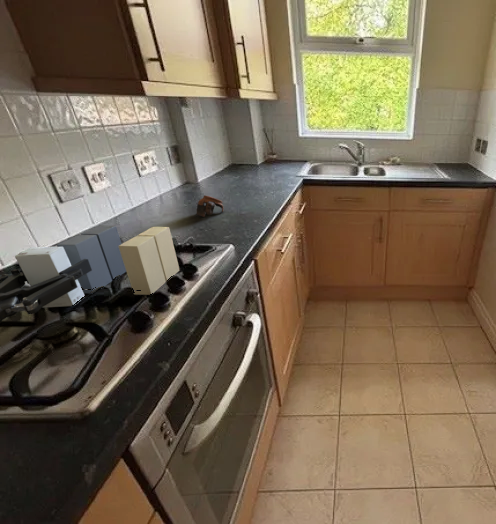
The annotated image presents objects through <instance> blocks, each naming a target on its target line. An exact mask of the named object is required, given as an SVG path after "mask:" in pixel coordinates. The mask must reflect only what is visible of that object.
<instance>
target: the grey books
mask: <svg viewBox="0 0 496 524" xmlns="http://www.w3.org/2000/svg"><path fill="white" fill-rule="evenodd" d="M121 244H123V242H122V241H121V237H120V233H119V231H118V227H117V225H100V224H99V225H98V226H94V227H93V228H90V229H88V230H86V231H84V232H81V233H80V234H76V235H74V236H73V237H70V238H67V239H65V240H63V241H60V242H58V243H56V247H63V248H64V250H65V252H66V255H67V257H68V259H69V261H70V264H71V266H72V265H74V264H76V263H78V262H80V261H82V260H83V259H88V261H89V263H90V266H91V269H92V271H90V272H88V273H87V274H85V275H83V276H82V277H80V278H78V282H79V284H80V286H81V287H82V288H84V289H91V290H82V291H83V293H84V294H91V293H90V292H91V291H93V290H94V289H96V288H98V287H101V286H104V287H106V286H107V285H109V284H110V283H112V282H113V281H114V280H113V279H114V278H115V277H116V276H118V275H120V276H122V275H123V274H125V273H127V271H126V268H125V265H124V262H123V259H122V256H121V253H120V250H119V247H118V246H119V245H121ZM95 287H96V288H95ZM93 288H94V289H93ZM92 289H93V290H92Z"/></svg>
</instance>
